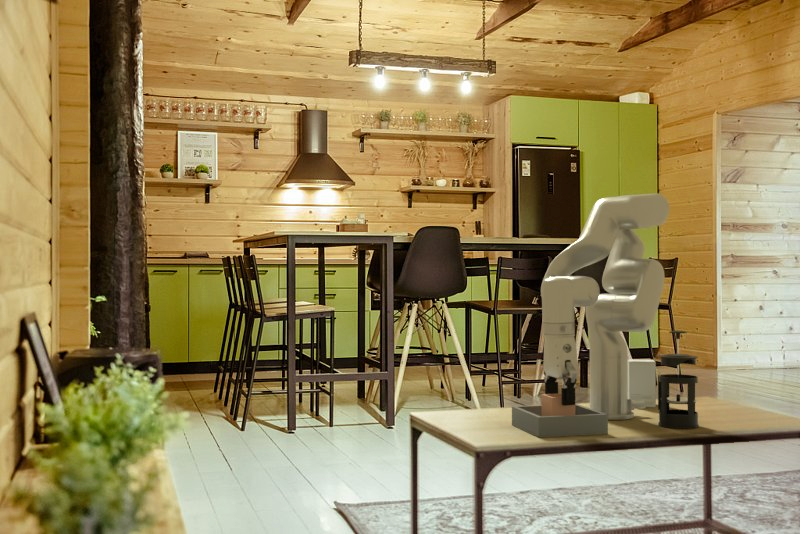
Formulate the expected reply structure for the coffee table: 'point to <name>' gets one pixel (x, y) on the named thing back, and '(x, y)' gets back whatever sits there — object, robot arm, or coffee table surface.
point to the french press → (677, 416)
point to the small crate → (555, 406)
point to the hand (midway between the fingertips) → (560, 401)
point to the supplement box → (642, 381)
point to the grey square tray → (559, 422)
